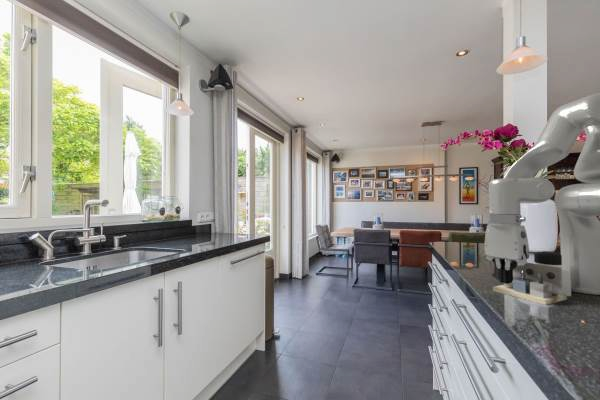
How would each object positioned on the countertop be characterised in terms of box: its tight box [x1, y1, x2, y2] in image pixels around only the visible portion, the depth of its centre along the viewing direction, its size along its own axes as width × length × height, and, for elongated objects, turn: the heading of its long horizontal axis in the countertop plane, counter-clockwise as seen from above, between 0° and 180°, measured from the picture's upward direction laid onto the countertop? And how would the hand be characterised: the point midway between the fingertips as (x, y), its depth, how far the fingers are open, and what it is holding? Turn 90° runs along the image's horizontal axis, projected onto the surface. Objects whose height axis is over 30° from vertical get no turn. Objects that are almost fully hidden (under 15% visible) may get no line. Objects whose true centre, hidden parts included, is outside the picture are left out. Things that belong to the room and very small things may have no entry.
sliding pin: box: [513, 270, 534, 293], centre depth 78 cm, size 4×3×6 cm
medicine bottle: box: [533, 250, 572, 297], centre depth 82 cm, size 7×7×12 cm
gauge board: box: [492, 262, 568, 306], centre depth 79 cm, size 10×13×8 cm
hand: (505, 282), depth 82 cm, fingers closed
